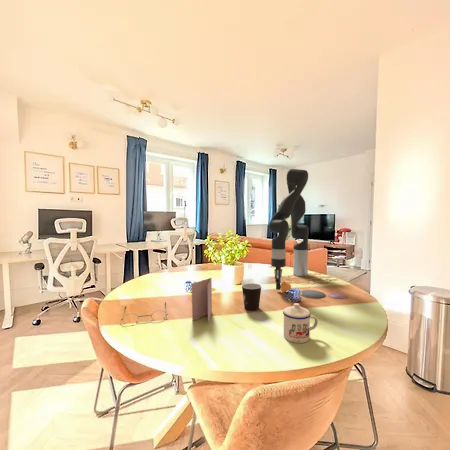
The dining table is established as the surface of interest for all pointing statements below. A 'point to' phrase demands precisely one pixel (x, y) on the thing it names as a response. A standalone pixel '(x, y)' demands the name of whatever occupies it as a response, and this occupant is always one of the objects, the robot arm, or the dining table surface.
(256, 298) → the coffee mug
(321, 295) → the disc
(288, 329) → the teacup with lid
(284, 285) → the ball
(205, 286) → the greeting card
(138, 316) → the eyeglasses
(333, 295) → the disc
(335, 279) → the dining table surface
